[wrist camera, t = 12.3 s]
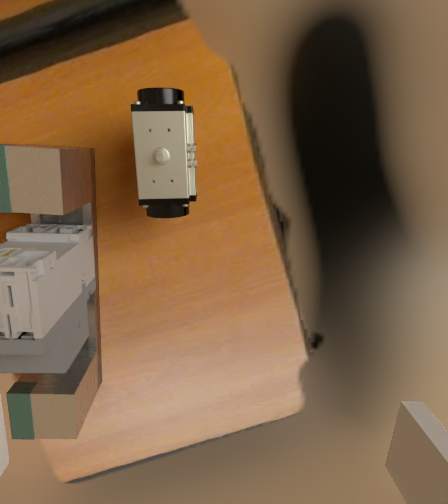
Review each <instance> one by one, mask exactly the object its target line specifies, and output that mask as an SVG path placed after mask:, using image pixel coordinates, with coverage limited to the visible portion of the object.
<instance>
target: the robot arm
mask: <svg viewBox="0 0 448 504" xmlns="http://www.w3.org/2000/svg"><path fill="white" fill-rule="evenodd" d="M8 463H9V456H8V447H7V440H6V432H5V424H4V417H3V408H2V402H1V393H0V476H1V475H2V473H3V471H4V470H5V468H6V467H7V465H8ZM386 467H387V469H388V471H389V473H390V475H391V476H392V478H393V480H394V482H395V483H396V485H397V487H398V489H399V490H400V492H401V494H402V496H403V497H404V499H405V501H406V503H407V504H448V431H447V430H446V429H445V428H444V426H443V425H442V424H441V423H440V422H439V421H438V419H437V418H436V417H435V416H434V415H433V414H432V412H431V411H430V410H429V409H428V408H427V407H426V405H425V404H424V403H423V402H408V401H406V402H405V401H401V403H400V407H399V411H398V415H397V419H396V424H395V428H394V432H393V436H392V440H391V444H390V448H389V452H388V456H387V460H386Z"/></svg>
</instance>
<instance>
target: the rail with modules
mask: <svg viewBox="0 0 448 504" xmlns="http://www.w3.org/2000/svg"><path fill="white" fill-rule="evenodd" d="M0 212H1V213H13V212H15V213H30V214H31V224H61V225H92V229H89V236H93V248H94V264H95V280H96V290H95V291H94V292H93V294H92V295H89V297H90V298H89V299H88V300H87V313H88V328H89V336H88V338H87V340H86V341H85V343H84V345H83V346H82V348H81V349H80V351H79V353H78V354H77V356H76V358H75V359H74V361H73V362H72V364H71V366H70V367H69V369H68V370H67V372H66V373H24V374H23V375H22V376H21V378H20V379H19V380H18V381H17V382H15V383H14V385H13V386H12V387H11V388H10V390H9V391H8V392H7V393H6V394H7V402H8V410H9V418H10V426H11V434H12V439H35V438H43V439H77V437H78V435H79V433H80V430H81V428H82V426H83V423H84V421H85V419H86V417H87V414H88V412H89V410H90V407H91V405H92V403H93V401H94V398H95V396H96V394H97V392H98V389H99V387H100V385H101V382H102V366H101V336H100V306H99V277H98V247H97V217H96V188H95V158H94V149H93V148H78V147H63V146H48V145H34V144H0ZM42 228H45V227H42ZM67 229H71V228H67ZM80 231H83V229H79V232H80Z"/></svg>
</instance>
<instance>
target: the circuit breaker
mask: <svg viewBox="0 0 448 504" xmlns="http://www.w3.org/2000/svg"><path fill="white" fill-rule="evenodd" d="M42 227H45V228H42ZM67 228H71V229H67ZM79 229H83V231H80V232H79ZM89 229H92V225H61V224H26V226H20V227H18V228H16V229H13V230H11V231H9V232H6V239H7V240H8V241H6V242H4V243H2V244H0V373H66V372H67V370H68V369H69V367H70V366H71V364H72V362H73V361H74V359H75V358H76V356H77V354H78V353H79V351H80V349H81V348H82V346H83V345H84V343H85V341H86V340H87V338H88V336H89V328H88V313H87V300H88V299H89V298H90V297H89V295H92V294H93V292H94V291H95V290H96V280H95V264H94V248H93V236H89Z"/></svg>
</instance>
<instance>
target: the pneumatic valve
mask: <svg viewBox="0 0 448 504" xmlns="http://www.w3.org/2000/svg"><path fill="white" fill-rule="evenodd" d="M137 97H138V101H135V102H134V104H131V115H132V127H133V139H134V151H135V163H136V174H137V186H138V198H139V206H142V205H143V207H144V208H146V212H147V216H149V217H153V218H175V217H182V216H186V215H188V214H189V203H190V201H196V199H197V190H196V167H197V159H196V158H195V153H196V144H195V137H194V111H193V106H185V104H184V91H183V90H180V89H174V88H145V89H140V90H138V91H137Z"/></svg>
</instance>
